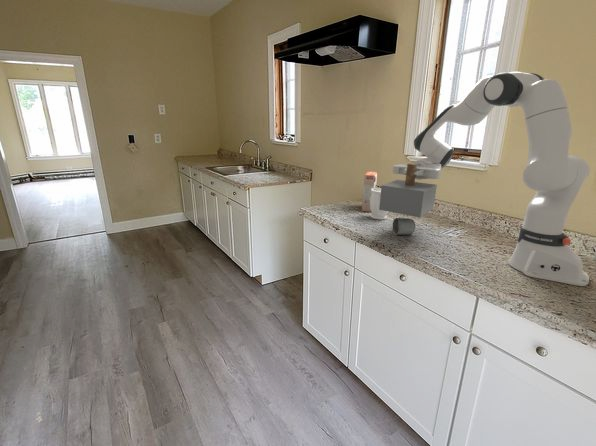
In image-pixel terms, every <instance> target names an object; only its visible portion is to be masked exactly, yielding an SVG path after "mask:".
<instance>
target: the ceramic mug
mask: <svg viewBox="0 0 596 446" xmlns="http://www.w3.org/2000/svg"><path fill="white" fill-rule="evenodd" d="M392 232H393V234H394V235H396V236H401V235H403V236H404V235H407V236H408V235H413V234H414V233H415V232H416V222H415V220H414V219H412V218H409V217H407V218H405V217H396V218H394V219H393V220H392Z"/></svg>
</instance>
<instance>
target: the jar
mask: <svg viewBox="0 0 596 446" xmlns="http://www.w3.org/2000/svg"><path fill="white" fill-rule="evenodd" d="M371 192H372V194H371V197H370V209H371V212H370V213H371V215H370V218H371V219H375V220H386V219H388V216H387V215H388V213H389V211H383V210H379V206H380V196H381V187H376V188H373V189H371Z"/></svg>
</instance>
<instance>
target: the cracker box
mask: <svg viewBox="0 0 596 446" xmlns="http://www.w3.org/2000/svg"><path fill="white" fill-rule="evenodd" d="M377 179H378V172H377V171H367V172H366V173H365V174H364V179H363V191H362V192H363V193H362V201H361V202H362V204H361V212H367V213H371V209H370V197H371V194H372V192H371V189H373V188H377Z"/></svg>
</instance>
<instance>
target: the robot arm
mask: <svg viewBox="0 0 596 446" xmlns="http://www.w3.org/2000/svg"><path fill="white" fill-rule="evenodd" d="M519 106H520V107H521V108H522V110H523V113H524V114H523V115H524V120H525V121H524V122H525V127H526V133H527V139H528V155H527V163H526V166H525V168H523V172H522V180H523V183H524V185H525V186H526V187H527V188H529V189H531V190H533V191H536V192H535V194H534V196H533V198H532V199H531V200H530V201H529V203H528V204H527V206H526V210H525V215H524V218H523V222H522V225H521V226H520V228H519V230H518V235H517V241H516V243H517V244H516V245H515V249H514V250H513V253H512V254H511V256H510V258H509V260H508V261H507V263H508V264H509V266H510V267H512V268H513V269H516V270H517V271H519V272H521V273H523V274H524V275H526V276H527V277H530V278H535V279H541V280H547V281H551V282H558V283H562V284H567V285H573V286H580V287H585V286H587V285H588V284H589V282H590V277H589V274H588V273H587V272H586V271H584V270H583V268H584V264H583V260H582V259H581V257H580V256H579V255H578V254H577V253H576V252H575V251H574V250H573V249H571V248H570V247H569V245H570V244H572V243H571V238H570V237H569V235H568V234H567V233H564V232H563V231H564V227H565V225H566V221H567V219H568V218H567V217H568V214H569V211H570V209H571V207H572V205H573V203H574V201H575V200H576V198H577V195H578V194H579V192H580V190H581V187H582V185H583V184H584V183H585V181H586V179H588V177H589V175H590V172H591V171H590V169H591V168H590V166H589V164H588V162H587V161H585V159H582V158H581V157H578V156H575V155H569V145H570V140H571V138H572V134H573V129H572V125H571V120H570V119H571V118H570V114H569V113H570V112H569V109H568V108H569V107H568V103H567V99H566V97H565V93H564V91H563V89H562V87H561V84H560V82H559V81H557V80H556V79H553V78H546V79H545V78H544V77H543V76H542V75H540V74H538V73H533V72H532V73H531V72H530V73H527V72H524V71H523V72H522V71H511V72H506V71H505V72H503V71H502V72H499V73H496V74H495V75H487V76H484V77H483V78H481V79H480V80H479V81H478V82H477V83H476V84H474V86H473V88H472V89H471V90H469V92H468V93H467V94H466V95H465V97H464V98H463V99H462V100H461V101H460V102H459V103H453V104H450V105H448V107H446V108H445V109H444V110H443V111H442V112H440V113H439V114H438V115H437V116H436V117H435V118H434V119H433V121H431V122H430V124H428V126H426V127H425V128H424V129H423V130H422V131H421V132H420V133H419V134H417V135H416V137H415V138H414V140H413V145H414V149H415V150H417V151H418V152H420V153H421V154H423V155H424V156H425V158H422V159H418V160H415V161H413V163H412V164H417V168H416V171H414V176H415V180H419V181H420V180H428V179H430V180H431V179H433V180H439V179H440V178H441V173H442V170H443V168H445V167H446V166H447V165H448V164H449V162H451V160H452V159H453V156H454V148H452V147H451V146H450V145H449V144H448V143H446V142H445V141H443V140H442V139H441V138H440V137H439V136H437V134H436V132H437V131H438V130H439V129H440V128H441V127H442V126H443V125H444V124H445V123H454V124H458V125H460V126H469V127H470V126H474V125H477V124H480V123H481V122H482V121H483V120H484V119H485V118H486V117H487V116H488V115H489V114H490V112H491V111H492V110H493V109H494V108H495V107H510V108H511V107H519ZM406 172H407V164H403V163H402V164H401V163H400V164H394V165H392V173H393V174H395V175H396V174H397V175H405V176H406Z"/></svg>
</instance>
